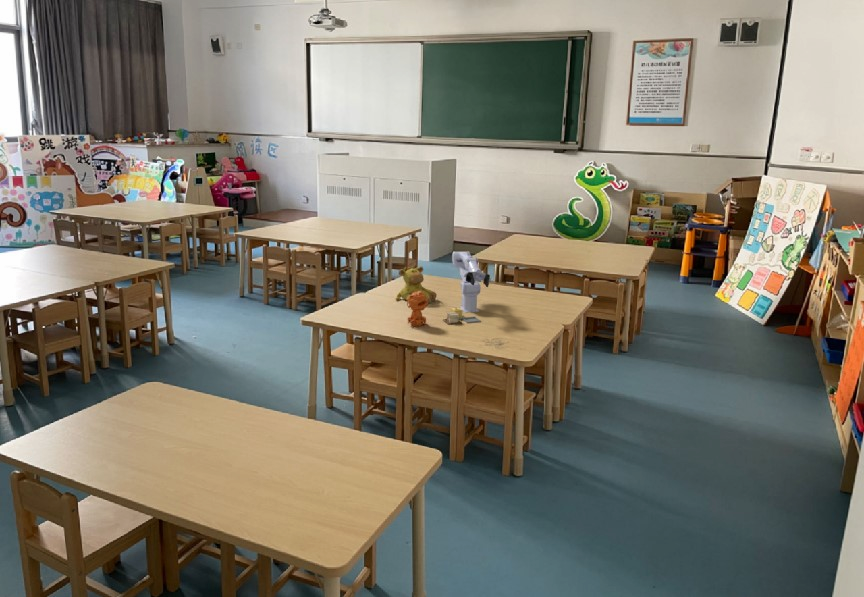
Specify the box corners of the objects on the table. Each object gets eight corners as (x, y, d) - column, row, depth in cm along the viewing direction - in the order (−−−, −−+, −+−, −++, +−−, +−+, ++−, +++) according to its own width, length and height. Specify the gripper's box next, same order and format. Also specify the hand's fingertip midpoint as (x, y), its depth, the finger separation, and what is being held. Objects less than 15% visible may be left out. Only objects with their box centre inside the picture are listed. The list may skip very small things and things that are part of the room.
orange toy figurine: (429, 327, 335) (430, 293, 330) (408, 328, 333) (408, 293, 329) (426, 321, 346) (427, 287, 341) (405, 321, 344) (405, 288, 339)
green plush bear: (422, 307, 371) (422, 273, 366) (387, 300, 383) (387, 267, 378) (441, 299, 388) (441, 267, 383) (407, 293, 400) (407, 261, 395)
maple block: (446, 321, 346) (446, 312, 345) (454, 320, 347) (455, 312, 346) (449, 323, 342) (450, 315, 341) (458, 322, 343) (458, 314, 342)
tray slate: (461, 319, 350) (461, 317, 350) (474, 318, 353) (475, 316, 352) (467, 323, 343) (467, 321, 343) (480, 322, 346) (480, 320, 346)
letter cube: (450, 316, 354) (451, 307, 353) (458, 315, 356) (459, 307, 355) (454, 318, 350) (454, 310, 349) (462, 318, 352) (462, 309, 351)
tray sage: (447, 316, 355) (447, 314, 355) (460, 315, 358) (460, 313, 357) (452, 320, 348) (452, 318, 348) (465, 319, 351) (465, 317, 351)
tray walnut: (442, 321, 347) (443, 319, 346) (456, 319, 349) (456, 318, 349) (448, 325, 340) (448, 323, 340) (461, 324, 342) (461, 322, 342)
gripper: (464, 263, 349) (469, 275, 338) (490, 266, 353) (496, 279, 342) (460, 274, 353) (465, 287, 341) (486, 278, 356) (492, 291, 345)
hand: (480, 284), depth 342 cm, fingers open, 7 cm apart
